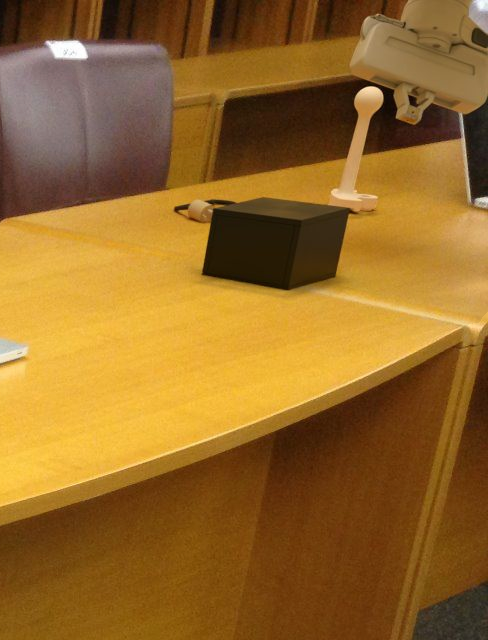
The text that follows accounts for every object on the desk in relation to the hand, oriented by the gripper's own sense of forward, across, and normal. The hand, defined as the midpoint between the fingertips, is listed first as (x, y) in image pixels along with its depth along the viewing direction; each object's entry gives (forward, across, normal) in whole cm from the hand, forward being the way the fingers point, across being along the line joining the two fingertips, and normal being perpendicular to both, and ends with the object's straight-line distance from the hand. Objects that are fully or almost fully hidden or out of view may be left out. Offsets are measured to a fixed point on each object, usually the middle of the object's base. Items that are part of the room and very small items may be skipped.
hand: (407, 120), depth 224 cm
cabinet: (+31, -16, -4) cm, 36 cm away
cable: (+5, -8, +37) cm, 39 cm away
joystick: (-7, +17, +42) cm, 46 cm away
